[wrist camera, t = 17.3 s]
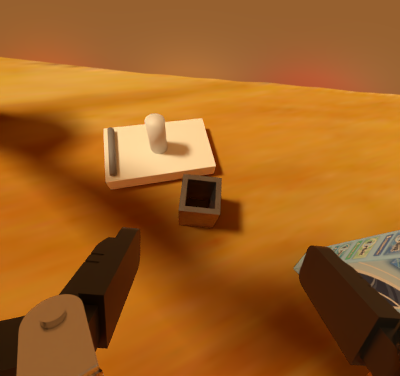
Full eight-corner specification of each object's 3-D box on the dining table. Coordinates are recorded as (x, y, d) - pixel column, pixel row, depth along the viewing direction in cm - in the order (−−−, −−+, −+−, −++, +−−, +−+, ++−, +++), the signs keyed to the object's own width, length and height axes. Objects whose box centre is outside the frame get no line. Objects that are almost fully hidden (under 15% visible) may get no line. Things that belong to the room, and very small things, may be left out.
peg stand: (111, 189, 37) (88, 160, 28) (108, 138, 42) (88, 99, 33) (213, 173, 40) (223, 143, 31) (200, 128, 45) (205, 90, 36)
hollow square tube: (212, 227, 36) (220, 214, 28) (178, 224, 35) (178, 210, 28) (213, 197, 38) (221, 178, 31) (182, 193, 38) (183, 173, 31)
